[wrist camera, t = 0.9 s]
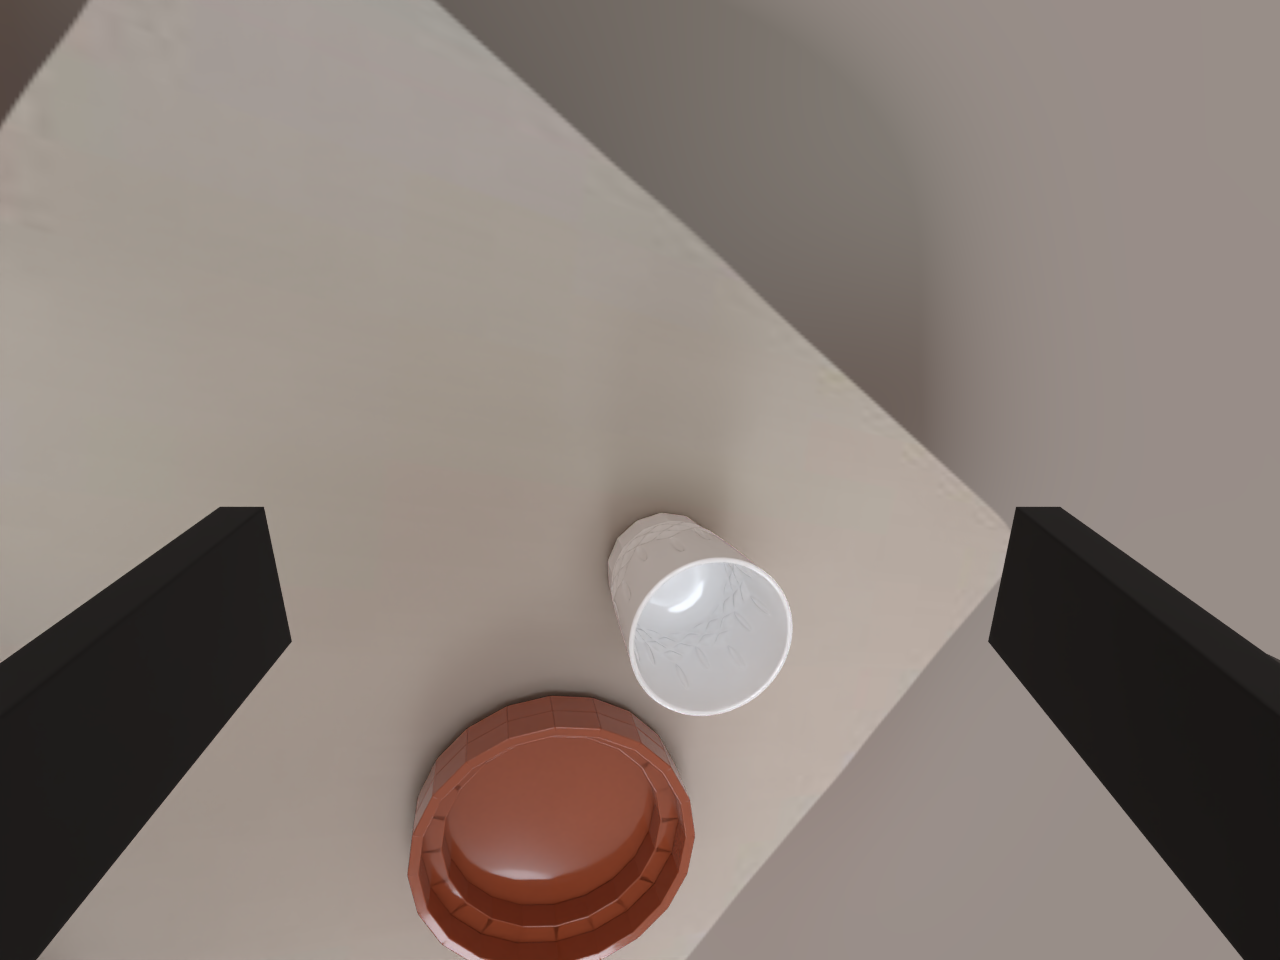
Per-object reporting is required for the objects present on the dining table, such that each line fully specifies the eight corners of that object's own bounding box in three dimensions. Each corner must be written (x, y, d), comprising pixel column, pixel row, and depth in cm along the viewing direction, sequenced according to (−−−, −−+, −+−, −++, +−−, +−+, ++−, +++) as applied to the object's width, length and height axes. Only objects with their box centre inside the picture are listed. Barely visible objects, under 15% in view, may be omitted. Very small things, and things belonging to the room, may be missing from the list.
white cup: (708, 485, 42) (774, 535, 32) (738, 603, 44) (807, 683, 34) (580, 526, 41) (609, 590, 31) (616, 645, 43) (653, 739, 33)
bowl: (606, 944, 47) (617, 999, 44) (371, 883, 43) (359, 938, 39) (719, 740, 46) (741, 778, 42) (487, 653, 41) (487, 687, 37)
